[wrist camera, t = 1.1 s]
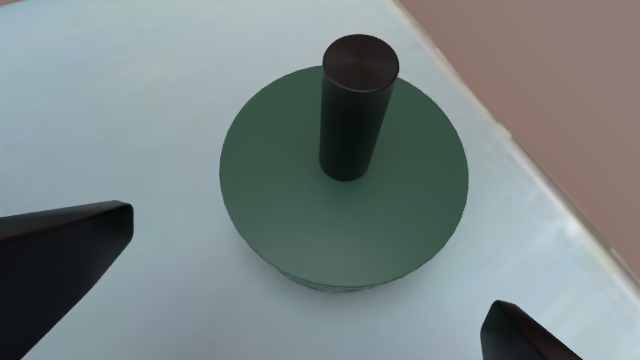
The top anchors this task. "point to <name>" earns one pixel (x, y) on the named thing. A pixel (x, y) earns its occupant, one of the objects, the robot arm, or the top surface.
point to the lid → (344, 170)
